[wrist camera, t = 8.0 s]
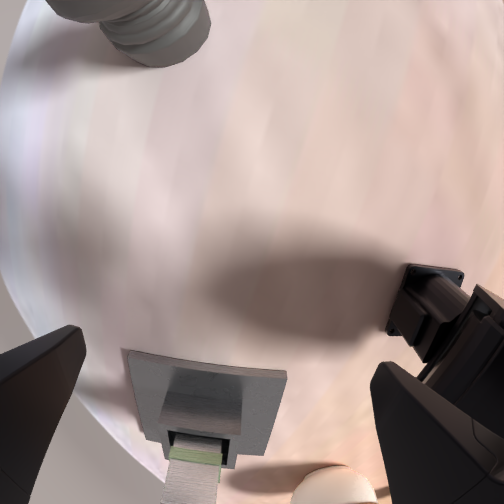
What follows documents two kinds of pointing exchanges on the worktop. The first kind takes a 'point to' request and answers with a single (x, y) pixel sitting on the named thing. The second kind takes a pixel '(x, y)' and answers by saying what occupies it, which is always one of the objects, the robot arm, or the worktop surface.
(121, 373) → the worktop surface
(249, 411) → the stand base
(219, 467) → the grey tall block
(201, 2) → the candle holder
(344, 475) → the lidded bowl
